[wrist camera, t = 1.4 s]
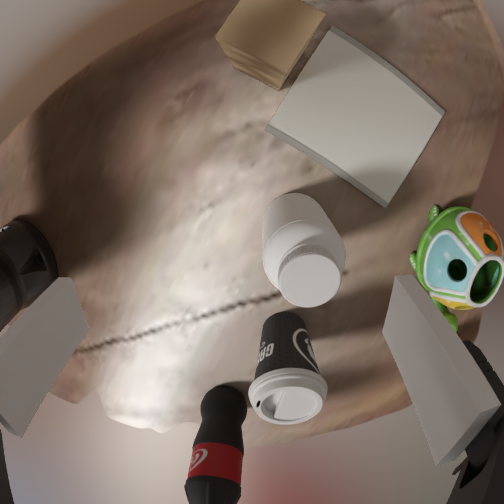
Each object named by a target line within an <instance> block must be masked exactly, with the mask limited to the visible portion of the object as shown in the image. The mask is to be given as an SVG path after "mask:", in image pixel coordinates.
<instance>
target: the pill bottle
mask: <svg viewBox="0 0 504 504" xmlns="http://www.w3.org/2000/svg"><path fill="white" fill-rule="evenodd" d="M345 259H346V252H345V246H344V243H343V241H342V239H341V237H340V235H339V234H338V232H337V230H336V229H335V227H334V226H333V224H332V223H331V221H330V219H329V218H328V216H327V215H326V213H325V212H324V210H323V209H322V207H321V206H320V204H319V203H318V202H317V201H315V200H314V199H313V198H311V197H310V196H307V195H305V194H301V193H288V194H285V195H282V196H280V197H278V198H276V199H275V200H274V201H273V202H272V203H271V204H270V205H269V206H268V208H267V210H266V212H265V214H264V217H263V266H264V270H265V273H266V275H267V277H268V278H269V280H270V281H271V283H272V284H273V285H274V286H275V287H276V288H278V289H279V290H280V291H281V293H282V295H283V297H284V298H285V299H287V301H289V302H290V303H292V304H294V305H296V306H300V307H316V306H319V305H322V304H324V303H326V302H327V301H329V300H330V299H331V298H332V297H333V296H334V295H335V294H336V292H337V291H338V289H339V287H340V284H341V274H342V271H343V269H344V265H345Z"/></svg>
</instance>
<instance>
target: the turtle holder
mask: <svg viewBox="0 0 504 504" xmlns="http://www.w3.org/2000/svg"><path fill="white" fill-rule="evenodd" d="M429 222H430V224H429V225H428V226H427V228H426V229H425V231H424V233H423V235H422V237H421V240H420V242H419V245H418V249H417V254H416V253H415V252H412V253H411V254H410V256H409V261H410V264H411V266H412V268H413V269H414V270H415V271H416V274H417V278H418V280H419V282H420V283H421V284H422V285H423V287H424V288H425V289H426V290H428V291H429V293H430V298H431V299H432V301H433V302H434V303H435V305H436V306H437V307H438V309H439V310H440V311H441V313H442V314H443V315H444V317H445V318H446V319H447V321H448V322H449V324H450V325H451V326H452V328H453V329H454V331H455V332H457V329H458V319H457V317H456V316H455V315H454V314H452V313H450V312H449V310H448V309H447V307H449V308H453V309H458V310H467V309H472V308H475V307H482V306H485V305H487V304H488V303H489V302H490V301H491V300H492V299H493V298H494V296H495V295H496V293H497V291H498V289H499V287H500V285H501V282H502V280H503V277H504V248H503V245H502V241H501V238H500V236H499V234H498V233H497V232H496V230H495V229H494V228H493V227H492V225H490V223H489V222H488V221H487V220H486V218H485V217H484V216H483V215H482V214H480V213H478V212H475V211H473V210H472V209H470V208H467V207H461V206H453V207H450V208H447V209H445V210H444V211H442V212H441V213H440V211H439V208H438V206H436V205H434V206H433V207H432V208H431V210H430V213H429ZM497 276H498V277H497ZM496 279H497V280H496Z"/></svg>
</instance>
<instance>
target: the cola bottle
mask: <svg viewBox="0 0 504 504" xmlns="http://www.w3.org/2000/svg"><path fill="white" fill-rule="evenodd" d="M201 415H202V423H201V426H200V428H199V431H198V433H197V436H196V438H195V441H194V444H193V452H192V458H191V463H190V468H189V473H188V478H187V480H186V484H185V491H186V495H187V498H188V501H189V504H237V502H238V500H239V499H240V497H241V487H240V486H241V473H242V460H243V455H244V447H243V438H242V429H241V426H242V424H243V422H244V420H245V418H246V415H247V405H246V401H245V398H244V397H243V395H242V394H241V393H240V392H238V391H237V390H235V389H232V388H228V387H217V388H214V389H211V390H210V391H208V392H207V393H206V395H205V396H204V398H203V400H202V403H201Z"/></svg>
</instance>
